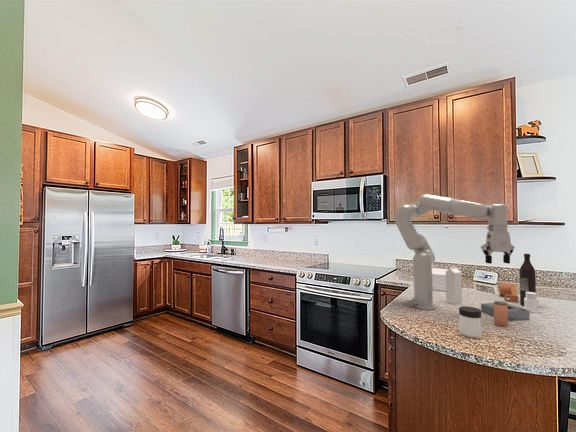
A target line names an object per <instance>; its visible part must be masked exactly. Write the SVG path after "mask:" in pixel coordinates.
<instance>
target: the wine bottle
mask: <svg viewBox="0 0 576 432" xmlns="http://www.w3.org/2000/svg"><path fill="white" fill-rule="evenodd" d="M523 257H524V259H523V262H522V264H521V265H520V268H519V299H520V301H519V302H520V305H522V306H524V298H526V292H534V293H537V289H536V288H537V287H536V284H537V283H536V280H537V279H536V270H535V269H536V268H535V267H534V266H533V264H532V263H531V254H530V253H523Z"/></svg>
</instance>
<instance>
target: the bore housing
mask: <svg viewBox="0 0 576 432" xmlns="http://www.w3.org/2000/svg"><path fill="white" fill-rule="evenodd" d="M507 308H508V322H509V321H512V322H513V321H529V320H530V319H531V318H530V315H531V314H530V313H531V312H530V311H529V310H526V309H524V308H523V307H520V306H517V305H513V304H512V303H511V304H510V303H507ZM480 310H481V314H484V315H488V316H491V317H493V318H494V302H487V303H483V302H482V303H481V304H480Z"/></svg>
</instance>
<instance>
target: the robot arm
mask: <svg viewBox="0 0 576 432" xmlns="http://www.w3.org/2000/svg"><path fill="white" fill-rule="evenodd" d="M429 211H435V212H438V213H439V212H440V213H444V214H449V215H458V216H464V217H467V218H468V217H469V218H472V219H480V220H481V219H488V226H487V227H486V229H487V232H486V238H485V243H484V244H483V245H481V246H480V249H481V251H482V252H483V255H485V259H484V260H485V263H486V264H490V265H492V263H493V257H492V254H493V253H495V252H496V253H503V257H502V258H503V259H502V261H503V264H509V265H510V264H511V256H512V254H513V253H514V249H515V245H513V244H512V242H511V240H512V239H511V236H510V232H509V231H508V206H507V204H505V203H492V204H484V203H478V202H472V201H467V200H461V199H456V198H453V197H447V196H443V195H442V196H441V195H435V194H430V193H423V194H421V195H420V196H419V198H418V200H416V201H415V202H413V203H411V204H409V203H407V204H402V205H400V206H399V207H398V209H397V210H396V212H395V214H394V223H395V225H396V227H397V230H399V233H400V235H401V237H402V240H403V242H404V243H405V245H406V247H407V249H409V250H411V251H413V252H414V255H413V257H412V265H413V266H412V268H413V286H414V287H413V295H414V297H412V299H406V301H405V302H406V304H410V305H411V306H412V307H413V308H415V309H419V310H426V311H428V310H430V311H433V310H435V309H437V305H435V304H434V295H433V291H434V290H433V286H432V268H433V267H432V265H433V264H434V263H435V262H436V256H435V253H434V252H433V249H432V248H431V246H430V243H429V242H428V240H427V238H426V237H425V236H424V235H423V234H420V233H418V231H417V230H416V228H415V225H414V224H413V223H412V220H411V219H415V218H418V217H420V216H423V215H424V214H426V213H427V212H429Z"/></svg>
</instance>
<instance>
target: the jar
mask: <svg viewBox="0 0 576 432" xmlns="http://www.w3.org/2000/svg"><path fill="white" fill-rule="evenodd" d="M482 317H483V315H482V312H481V308H477V307H473V306H469V305H468V306H465V305H463V306H460V307H459V308H458V333H459V334H460V335H463V336H465V337H469V338H477V339H478V338H479V339H481V338H482V336H483V322H482V321H483V318H482Z"/></svg>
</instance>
